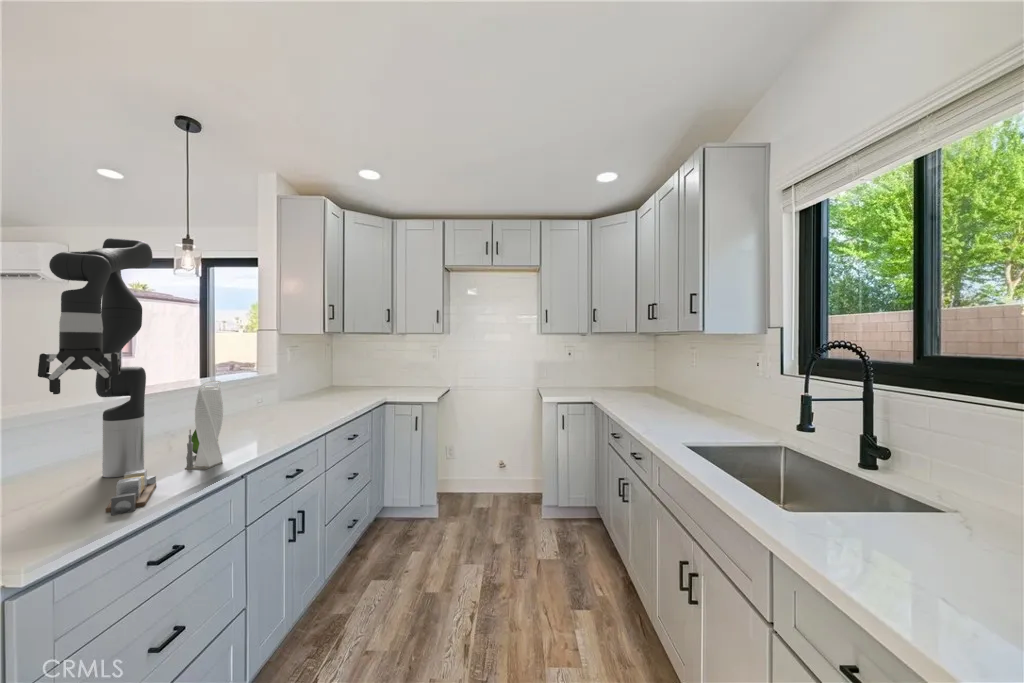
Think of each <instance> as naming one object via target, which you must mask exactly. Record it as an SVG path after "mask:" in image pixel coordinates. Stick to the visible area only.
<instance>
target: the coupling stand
mask: <svg viewBox="0 0 1024 683" xmlns="http://www.w3.org/2000/svg"><path fill="white" fill-rule="evenodd" d="M156 488H157V475H147V488H146V489H145V491H142V492H141V497H140V498H139V500H136V493H131V494H124V495H118V496H116V495H113V496H112V497H110V498H111V499H110V503H109V504H108V505H107V506H106V507H105V513H110V516H113V515H114V516H115V515H120V514H125V513H131V512H135V510H136V509H137V508H139V507H144V506H146V505H147V503H148V501H149V500H150V499H151V496H152V495H153V494H154V492H155V489H156Z"/></svg>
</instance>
